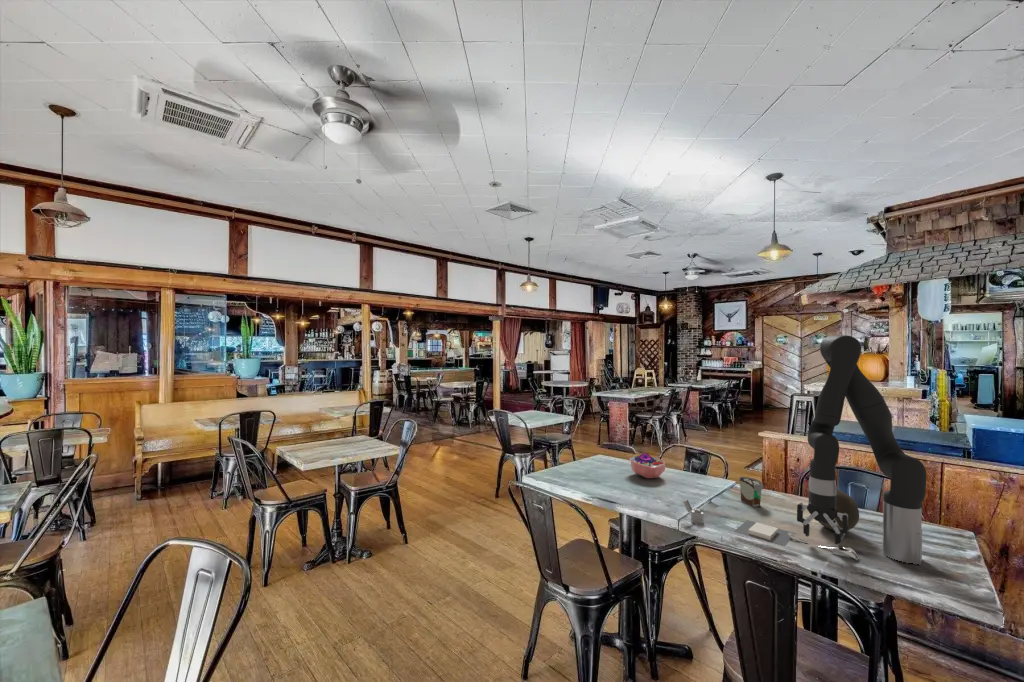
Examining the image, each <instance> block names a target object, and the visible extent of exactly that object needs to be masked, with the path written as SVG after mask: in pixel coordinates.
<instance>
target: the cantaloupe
mask: <svg viewBox="0 0 1024 682" xmlns="http://www.w3.org/2000/svg"><path fill="white" fill-rule="evenodd" d="M836 510H837V512H838V513H842V514H844V513H847V514H848V526H849V530H850V531H851V530H853V528H855V527H856V526H857V524H858V523H859V521H860V511H859V508H858V505H857V504H856V501H855V500H854V499H853V497H851V496H850V495H849V494H847V493H846V492H844V491H842V490H840V489H836ZM835 520H836V522H837V523H838V525H839V527H840V528H843V526H842V520H840V518H839V517H838V516H837V517H836V518H835ZM818 523H819V524H821V526H823V527H824V528H827V529H828V530H830V531H832V532H835V530H834V529H833V528H832V527H831V525H830V524H829V523H824V522H822V521H818Z"/></svg>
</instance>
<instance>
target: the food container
mask: <svg viewBox="0 0 1024 682" xmlns="http://www.w3.org/2000/svg"><path fill="white" fill-rule="evenodd" d="M738 479H739V480H738V481H739V485H740V486H739V489H740V490H739V492H740V501H741V502H743V503H744V504H746V505H748V506H750V507H752V508H761V499H762V498H761V497H762V491H763V490H764V485H763V482H762V481H761V480H759V479H757V478H753V477H748V476H739V478H738Z"/></svg>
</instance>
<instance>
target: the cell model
mask: <svg viewBox="0 0 1024 682" xmlns="http://www.w3.org/2000/svg"><path fill="white" fill-rule="evenodd" d="M629 461H630V468H631V470H632V472H633V473H635V474H636V475H638V476H641V477H643V478H645V479H657V478H659V477H661V475H662V474H663V473H664V472H665V470H666V462H665V460H663V459H661V458H658V457H654V456H651V455H650V453H647V452H642V453H640V455H636V456H631V457H629Z"/></svg>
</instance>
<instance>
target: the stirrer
mask: <svg viewBox="0 0 1024 682" xmlns="http://www.w3.org/2000/svg"><path fill="white" fill-rule="evenodd" d="M792 533H793V532H792ZM792 533H788V536H790V537H791V539H792V540H794V541H796V542H798V543H800V544H804V545H809V546H813V547H815V548H820V549H821V548H822V549H832V550H837V551H839V552H841V553H844V554H846V555H847V556H850V557H851V558H853V559H854V560H856V561H859V560H860V557H859V555H858V554H857V552H856V551H855V550H854V549H853V548H851V547H848V546H845V545H844V546H841V545H840V546H838V545H837V546H824V545H823V546H822V545H817V544H813V543H811V542H808V541H806V540H805V539H803V538H801V537H799V536H798V535H796V534H795V535H794V534H792ZM791 535H793V537H792V536H791ZM858 559H859V560H858Z"/></svg>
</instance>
